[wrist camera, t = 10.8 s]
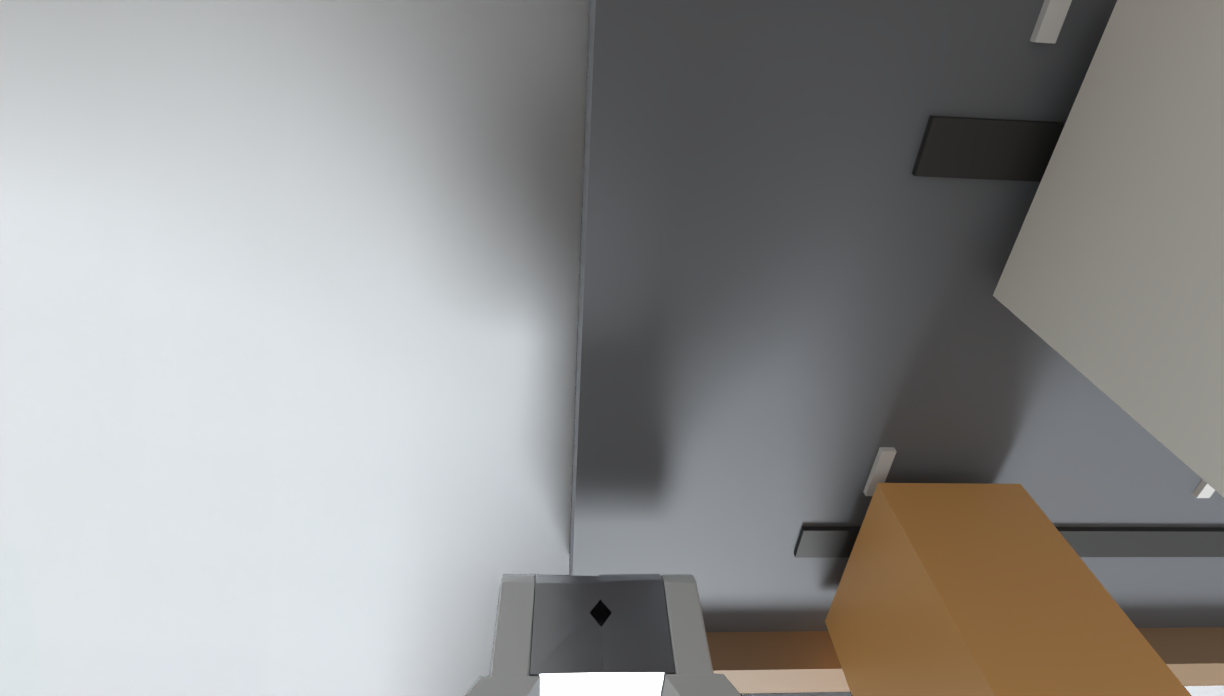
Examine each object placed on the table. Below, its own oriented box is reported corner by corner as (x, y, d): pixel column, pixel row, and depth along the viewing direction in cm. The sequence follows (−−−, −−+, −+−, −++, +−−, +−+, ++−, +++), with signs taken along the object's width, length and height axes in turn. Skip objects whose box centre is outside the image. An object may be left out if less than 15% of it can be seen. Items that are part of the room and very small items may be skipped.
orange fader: (1023, 483, 11) (1248, 761, 7) (949, 620, 13) (1096, 892, 9) (875, 482, 10) (1029, 766, 7) (822, 621, 12) (922, 898, 9)
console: (1996, -99, 9) (2603, -112, 7) (1345, 556, 17) (1498, 680, 14) (597, -224, 8) (612, -306, 5) (569, 557, 15) (568, 696, 13)
